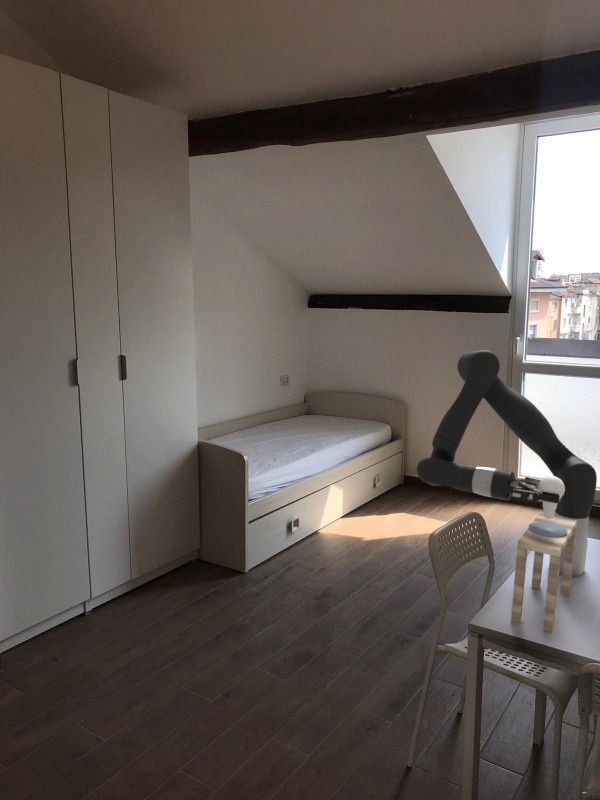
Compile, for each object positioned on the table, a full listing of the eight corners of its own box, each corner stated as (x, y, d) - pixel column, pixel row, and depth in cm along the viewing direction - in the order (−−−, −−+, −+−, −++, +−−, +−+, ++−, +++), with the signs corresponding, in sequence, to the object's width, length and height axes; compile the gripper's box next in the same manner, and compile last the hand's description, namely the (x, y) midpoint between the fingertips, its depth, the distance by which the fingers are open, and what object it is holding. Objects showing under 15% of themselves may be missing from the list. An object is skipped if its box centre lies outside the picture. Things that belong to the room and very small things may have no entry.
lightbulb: (531, 518, 162) (535, 476, 160) (541, 512, 166) (545, 471, 164) (555, 525, 158) (560, 481, 156) (565, 518, 162) (570, 476, 160)
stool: (533, 584, 178) (539, 511, 175) (569, 593, 173) (577, 518, 170) (510, 621, 158) (517, 539, 155) (551, 632, 153) (559, 548, 150)
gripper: (486, 475, 161) (557, 488, 153) (501, 463, 174) (568, 474, 165) (484, 504, 163) (554, 518, 154) (499, 489, 175) (565, 502, 166)
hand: (561, 495), depth 159 cm, fingers closed on lightbulb, 5 cm apart
